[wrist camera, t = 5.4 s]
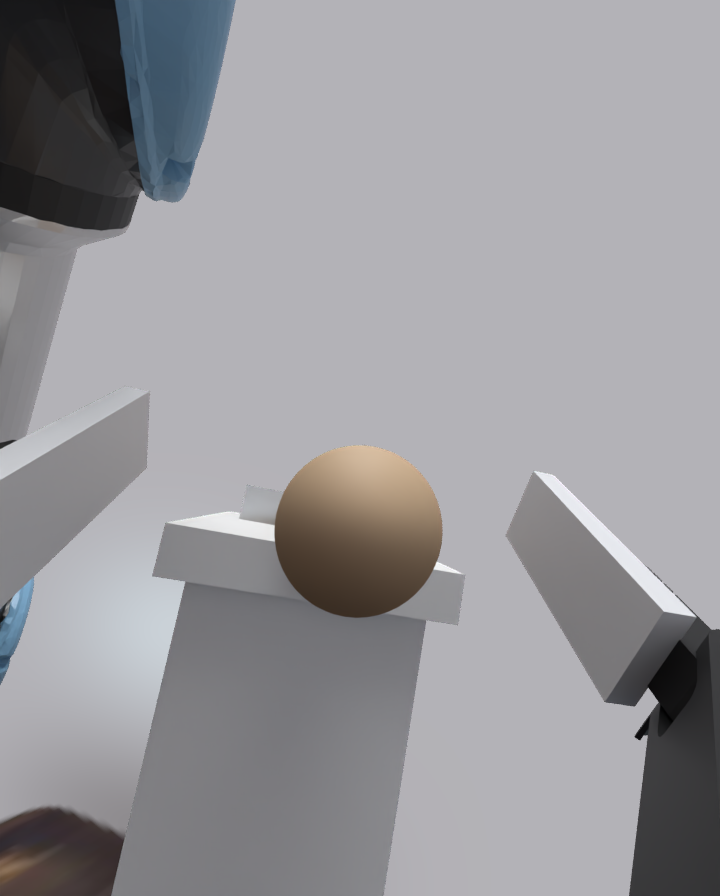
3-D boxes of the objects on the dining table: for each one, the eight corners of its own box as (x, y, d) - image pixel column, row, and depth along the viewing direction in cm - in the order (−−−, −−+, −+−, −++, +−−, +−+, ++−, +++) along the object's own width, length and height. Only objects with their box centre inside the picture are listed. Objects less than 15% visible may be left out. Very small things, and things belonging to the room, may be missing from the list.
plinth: (322, 1559, 13) (465, 575, 17) (-101, 1597, 12) (165, 522, 16) (312, 1012, 27) (393, 540, 31) (117, 1002, 25) (229, 511, 30)
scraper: (584, 654, 8) (600, 492, 8) (69, 573, 7) (119, 394, 7) (374, 537, 30) (381, 496, 31) (249, 515, 29) (258, 473, 30)
